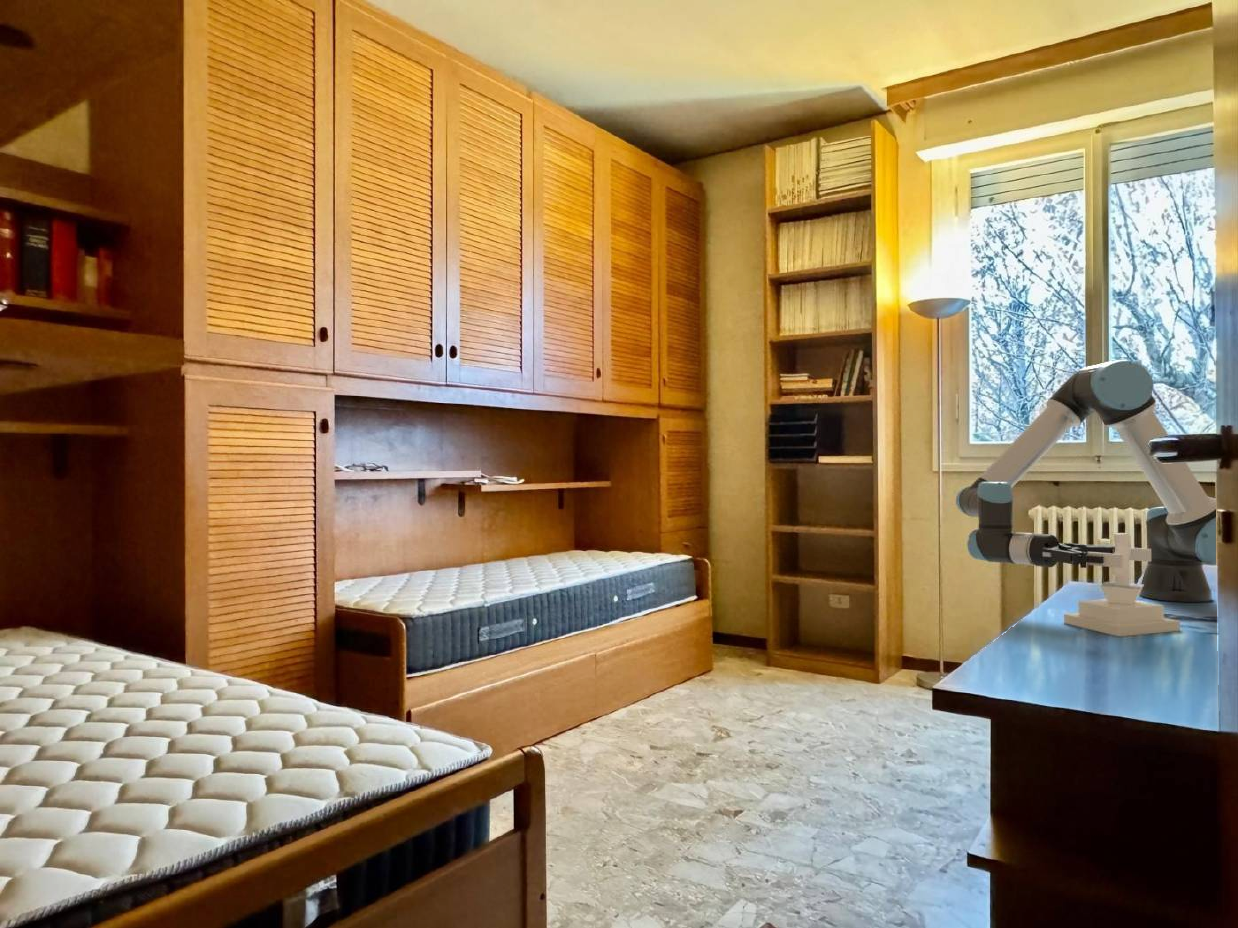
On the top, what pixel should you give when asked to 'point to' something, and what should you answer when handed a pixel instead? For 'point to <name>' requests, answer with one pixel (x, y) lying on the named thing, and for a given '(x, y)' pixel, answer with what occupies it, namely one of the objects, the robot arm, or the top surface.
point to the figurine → (1122, 575)
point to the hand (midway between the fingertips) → (1136, 558)
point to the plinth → (1122, 618)
